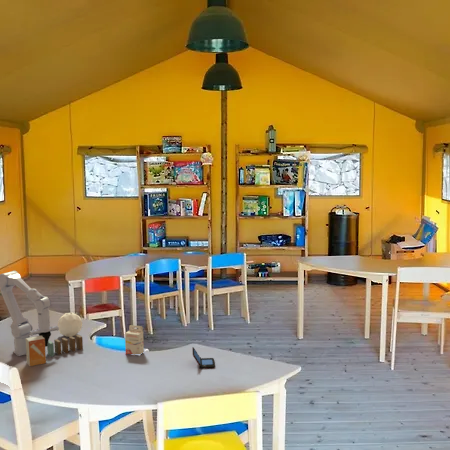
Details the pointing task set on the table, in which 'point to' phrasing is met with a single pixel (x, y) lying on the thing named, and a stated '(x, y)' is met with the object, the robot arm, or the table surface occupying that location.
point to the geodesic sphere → (69, 324)
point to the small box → (35, 350)
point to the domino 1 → (50, 348)
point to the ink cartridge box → (134, 340)
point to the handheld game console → (203, 360)
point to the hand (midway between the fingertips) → (45, 346)
